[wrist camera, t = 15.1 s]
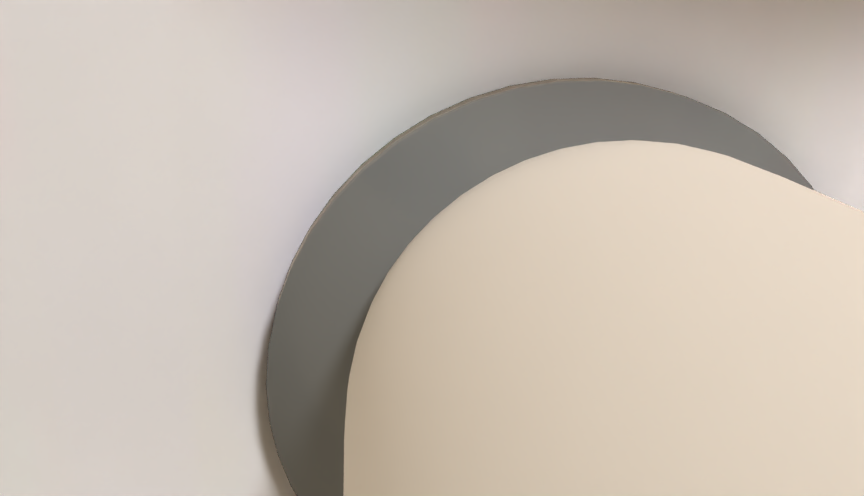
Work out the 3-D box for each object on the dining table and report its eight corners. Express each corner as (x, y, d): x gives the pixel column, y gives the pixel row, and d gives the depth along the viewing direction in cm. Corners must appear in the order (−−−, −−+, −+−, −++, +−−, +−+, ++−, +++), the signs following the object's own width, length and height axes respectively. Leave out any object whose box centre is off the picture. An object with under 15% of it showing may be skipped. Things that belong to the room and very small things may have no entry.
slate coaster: (351, 648, 15) (350, 674, 15) (190, 159, 12) (183, 168, 11) (842, 527, 15) (861, 548, 15) (824, 13, 12) (847, 15, 11)
